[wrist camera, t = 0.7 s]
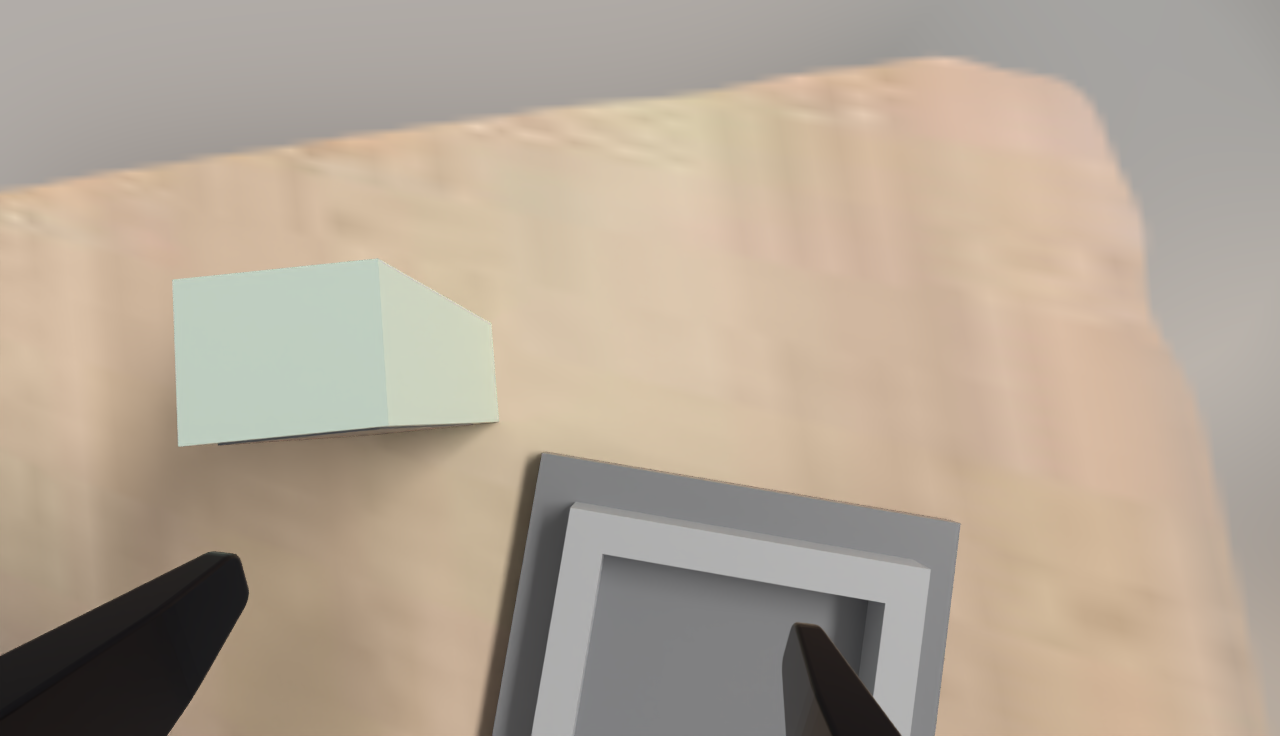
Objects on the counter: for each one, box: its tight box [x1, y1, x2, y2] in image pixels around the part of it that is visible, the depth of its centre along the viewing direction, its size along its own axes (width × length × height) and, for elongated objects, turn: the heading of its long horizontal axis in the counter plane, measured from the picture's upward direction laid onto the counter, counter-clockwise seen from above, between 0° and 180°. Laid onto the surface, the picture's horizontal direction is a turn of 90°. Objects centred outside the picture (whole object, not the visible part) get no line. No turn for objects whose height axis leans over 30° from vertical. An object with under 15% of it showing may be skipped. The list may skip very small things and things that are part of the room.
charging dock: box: [492, 452, 960, 736], centre depth 22 cm, size 16×16×2 cm
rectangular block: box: [172, 259, 499, 447], centre depth 19 cm, size 4×5×10 cm
